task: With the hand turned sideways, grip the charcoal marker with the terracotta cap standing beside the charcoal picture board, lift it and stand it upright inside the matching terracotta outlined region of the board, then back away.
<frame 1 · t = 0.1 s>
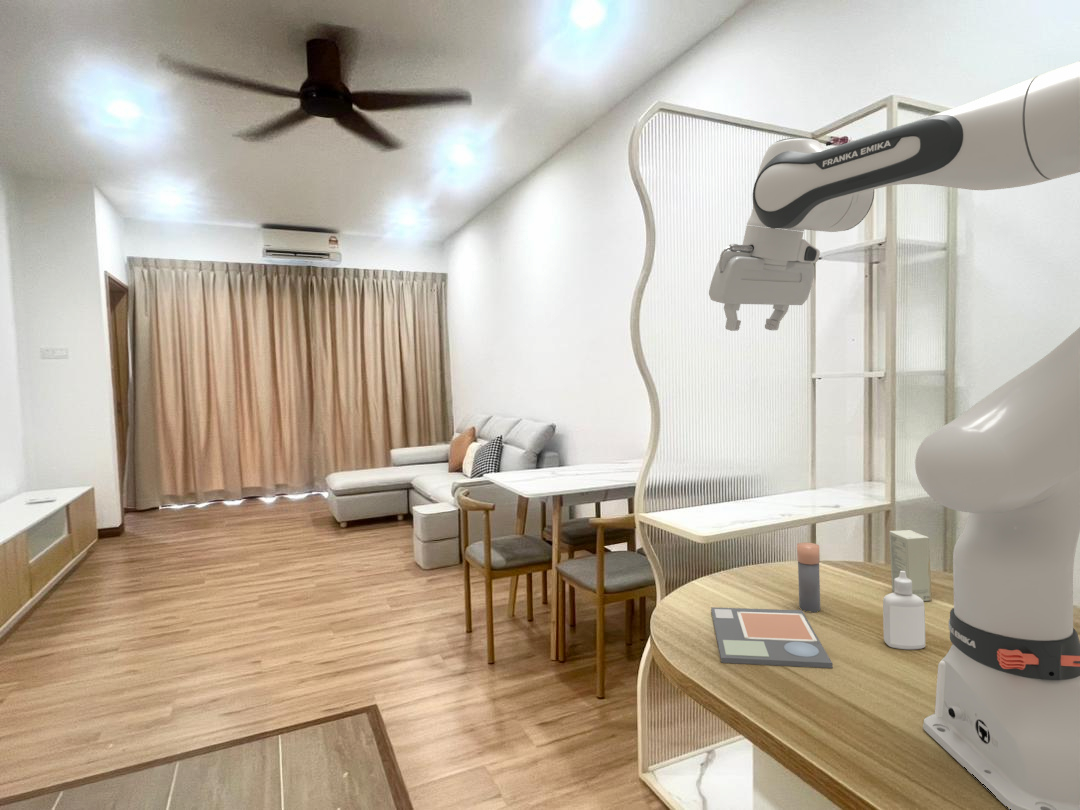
hand: (751, 329, 101), 52 cm above the table, tool tilted 20°, fingers open, 8 cm apart
picture board: (765, 636, 100), on the table
terracotta marker: (809, 608, 111), on the table
eye dropper bottle: (904, 646, 95), on the table
skincare box: (910, 596, 114), on the table
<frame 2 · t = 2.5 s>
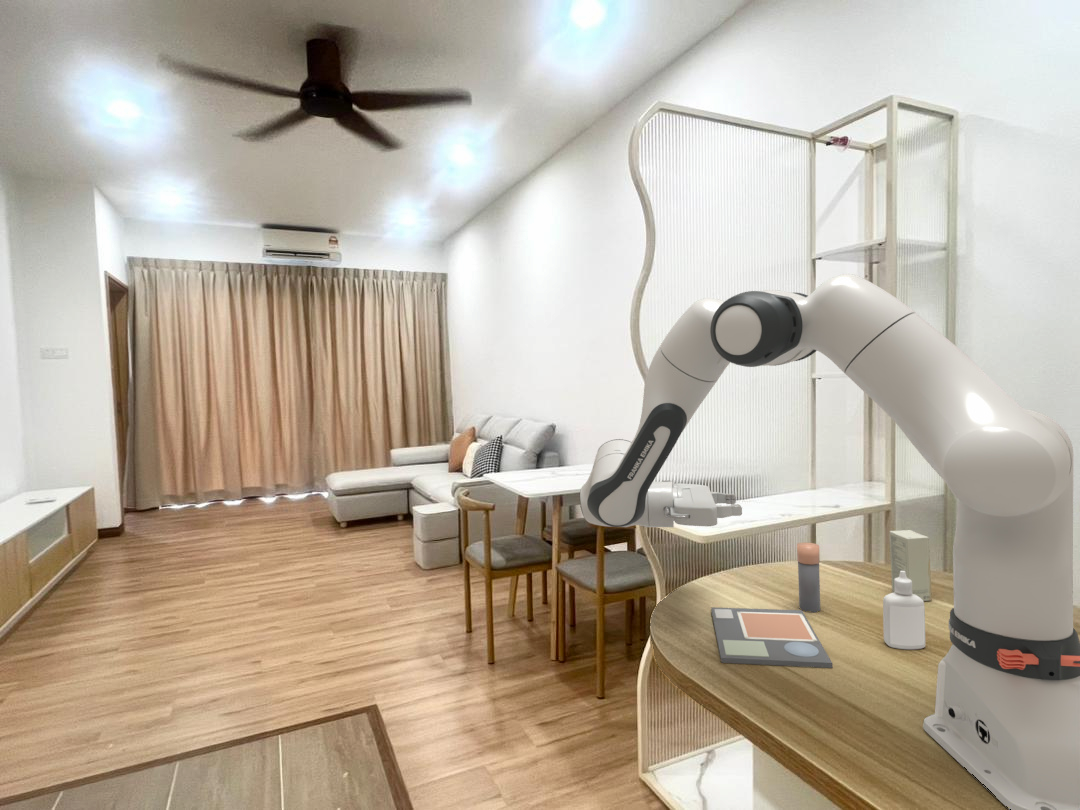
hand: (738, 504, 112), 20 cm above the table, tool horizontal, fingers open, 8 cm apart
nothing on the table moved.
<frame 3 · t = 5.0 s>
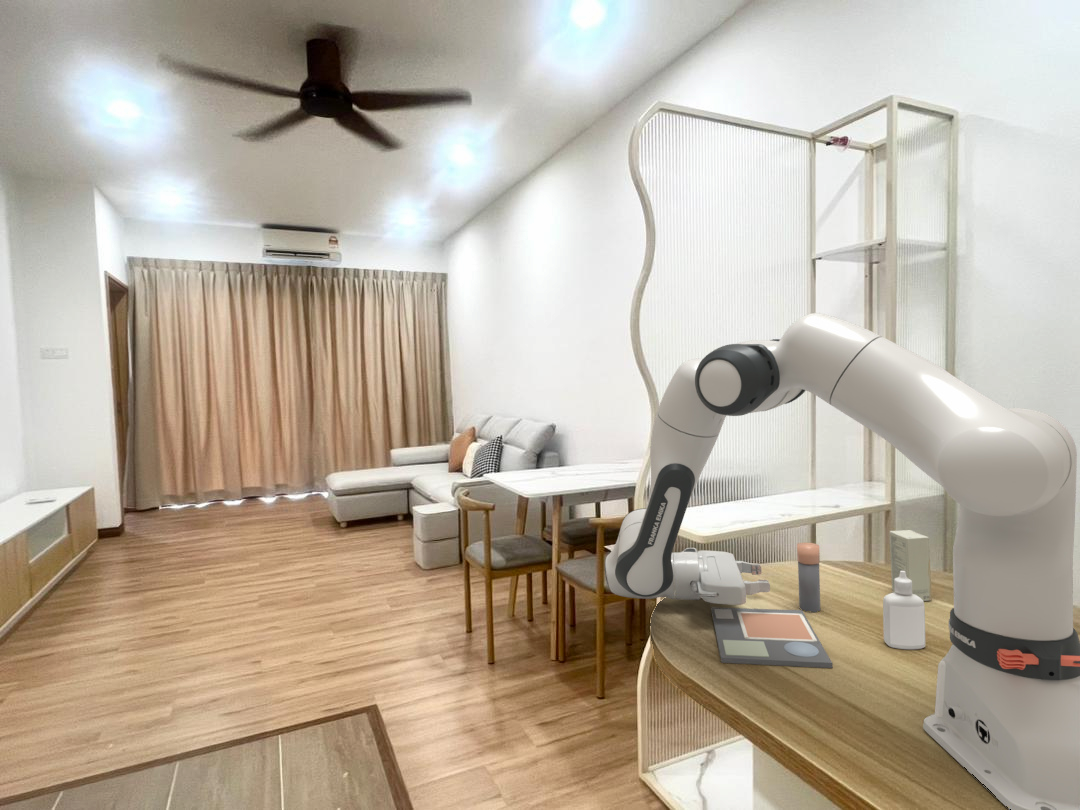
hand: (765, 577, 112), 6 cm above the table, tool horizontal, fingers open, 8 cm apart
nothing on the table moved.
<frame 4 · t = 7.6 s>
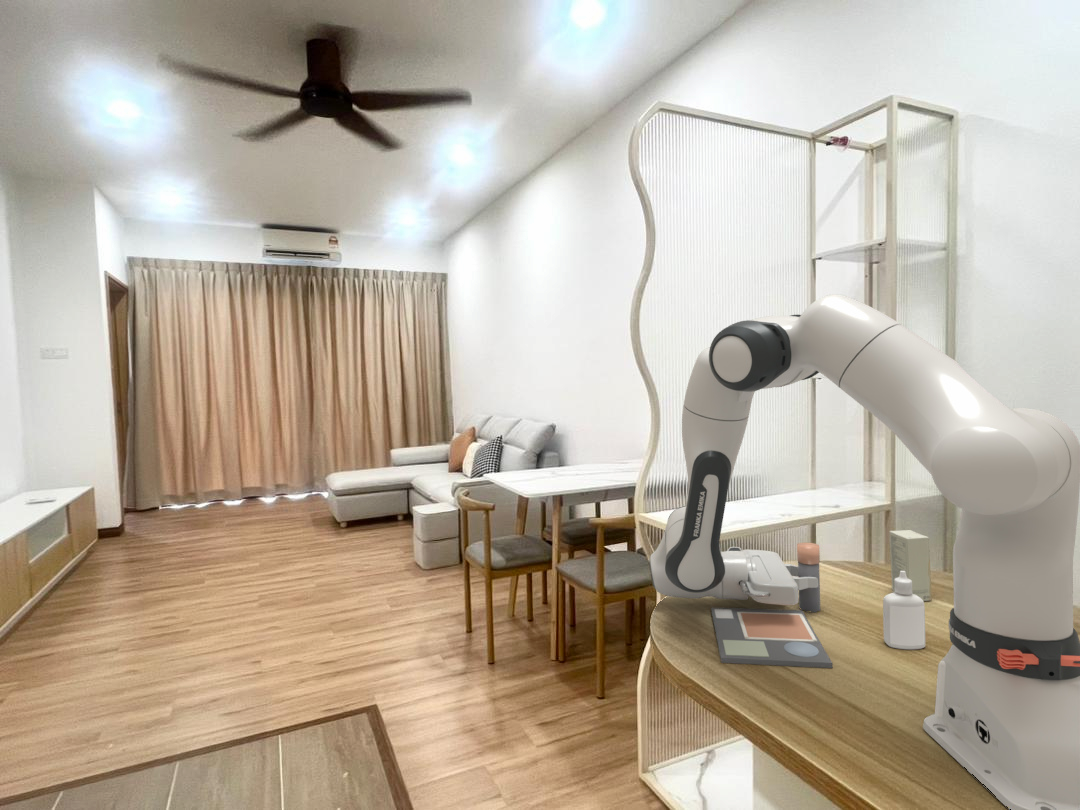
hand: (814, 576, 110), 6 cm above the table, tool horizontal, fingers closed on terracotta marker, 4 cm apart
terracotta marker: (809, 608, 111), on the table, touching gripper
everything else where it was.
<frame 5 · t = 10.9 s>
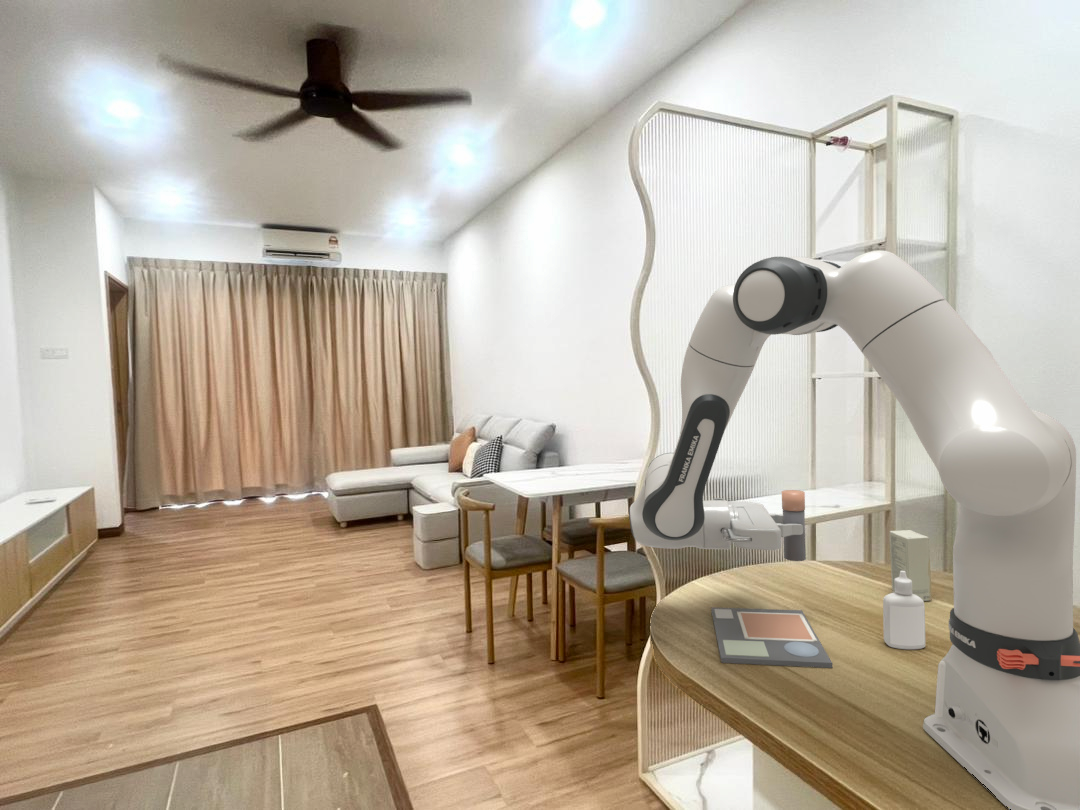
hand: (799, 525, 106), 17 cm above the table, tool horizontal, fingers closed on terracotta marker, 4 cm apart
terracotta marker: (794, 557, 107), point 11 cm above the table, touching gripper
everything else where it was.
when the fingers open (8 cm above the table, at t = 14.1 s): terracotta marker drops 1 cm, resting on picture board.
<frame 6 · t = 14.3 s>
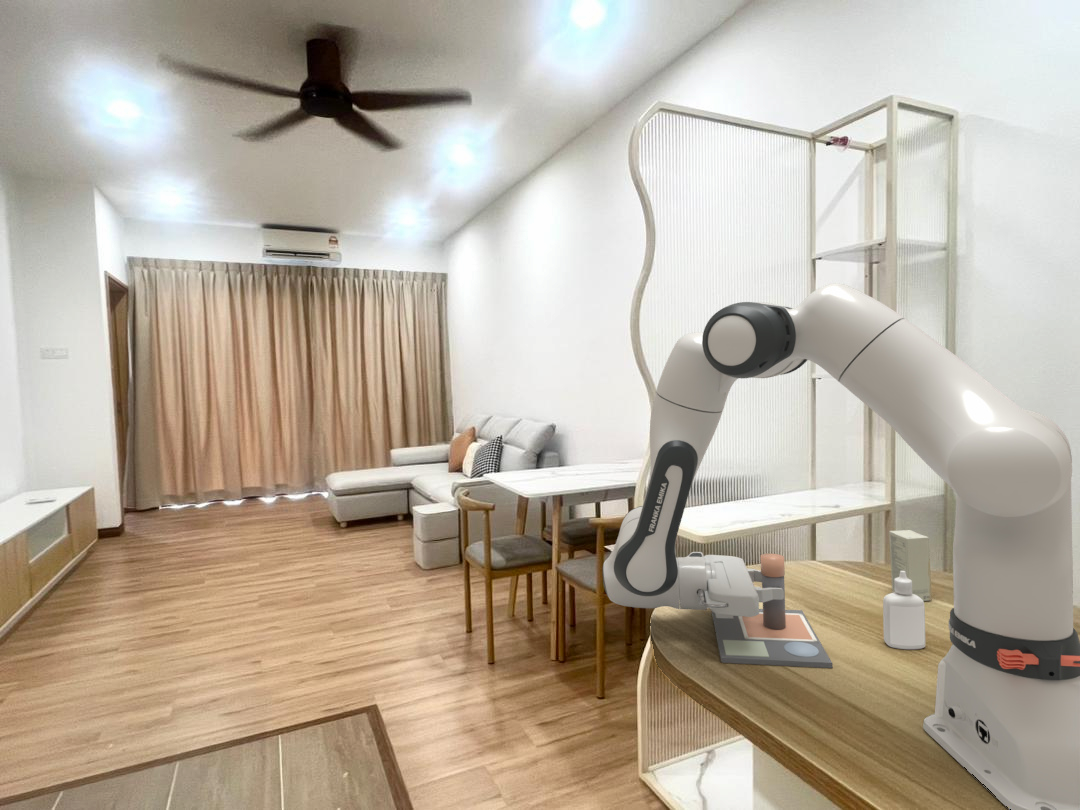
hand: (778, 585, 102), 8 cm above the table, tool horizontal, fingers open, 6 cm apart
terracotta marker: (774, 625, 102), point 1 cm above the table, touching picture board
everything else where it was.
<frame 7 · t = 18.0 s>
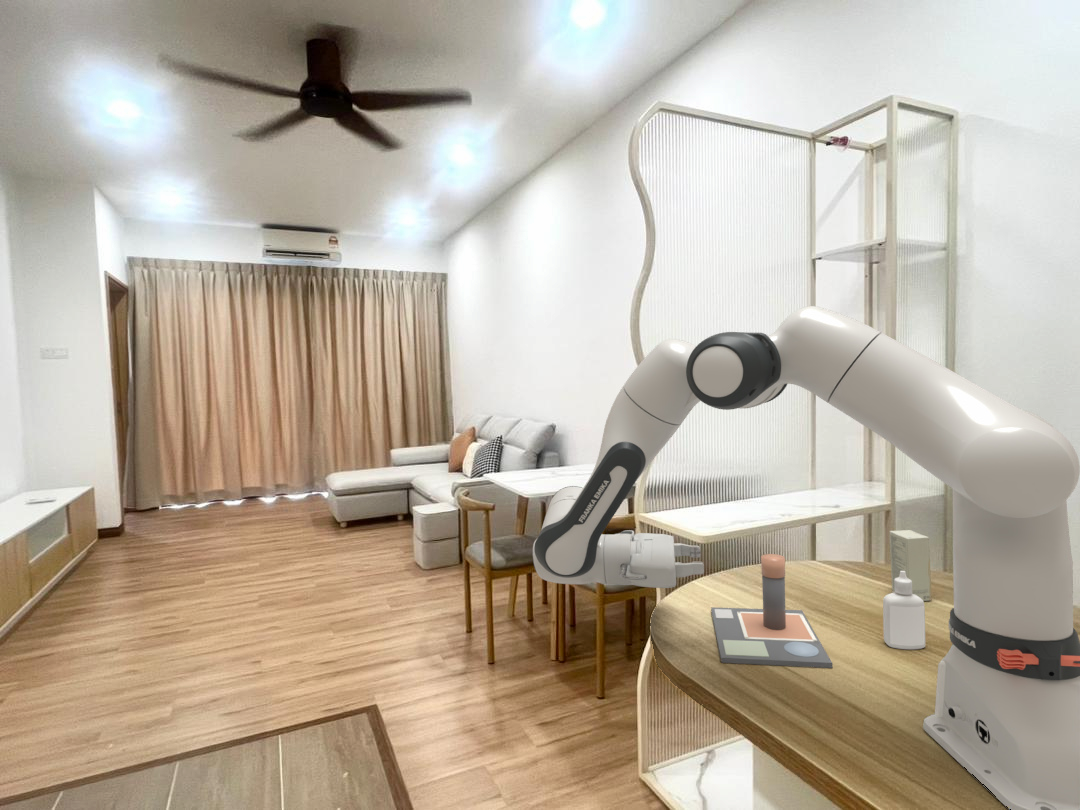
hand: (702, 559, 104), 12 cm above the table, tool horizontal, fingers open, 8 cm apart
nothing on the table moved.
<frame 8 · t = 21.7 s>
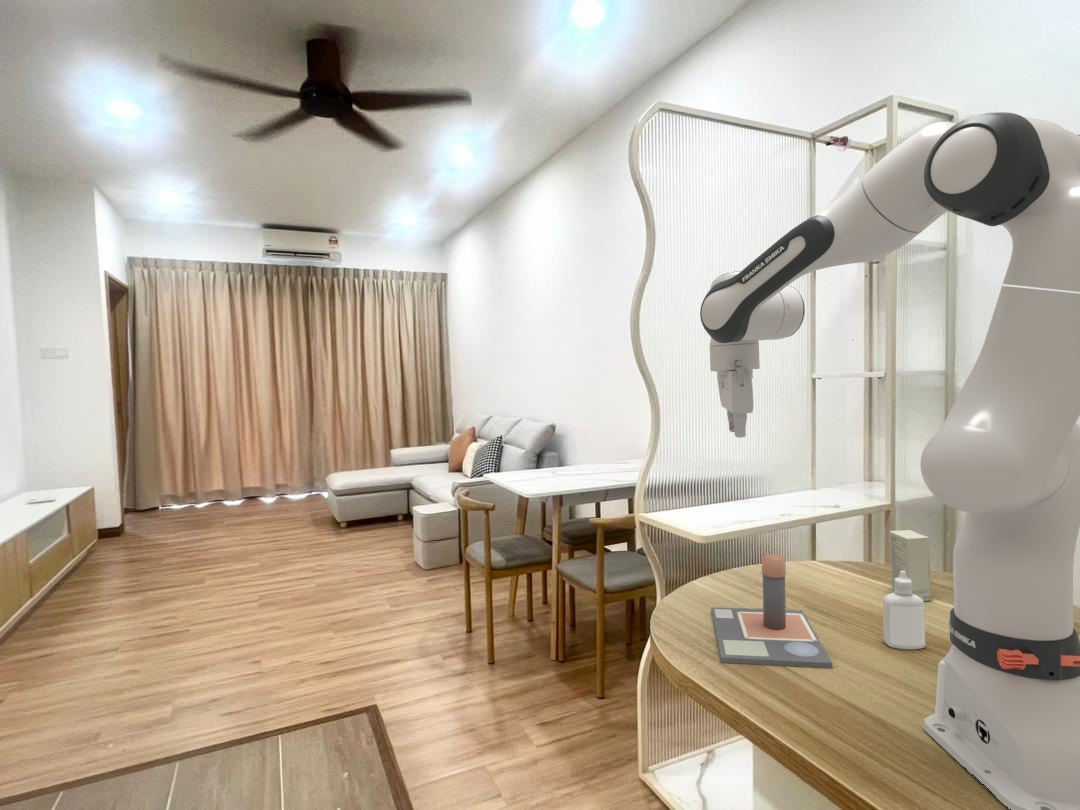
hand: (737, 434, 112), 33 cm above the table, tool pointing down, fingers open, 8 cm apart
nothing on the table moved.
at the end: terracotta marker inside the target area on the picture board (0.0 cm from its centre), point 0.9 cm above the picture board's base; terracotta marker tilted 1°; the gripper is holding nothing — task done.
